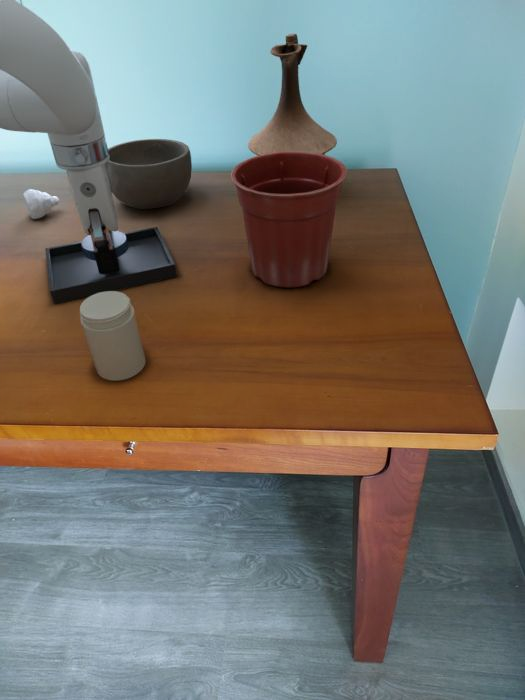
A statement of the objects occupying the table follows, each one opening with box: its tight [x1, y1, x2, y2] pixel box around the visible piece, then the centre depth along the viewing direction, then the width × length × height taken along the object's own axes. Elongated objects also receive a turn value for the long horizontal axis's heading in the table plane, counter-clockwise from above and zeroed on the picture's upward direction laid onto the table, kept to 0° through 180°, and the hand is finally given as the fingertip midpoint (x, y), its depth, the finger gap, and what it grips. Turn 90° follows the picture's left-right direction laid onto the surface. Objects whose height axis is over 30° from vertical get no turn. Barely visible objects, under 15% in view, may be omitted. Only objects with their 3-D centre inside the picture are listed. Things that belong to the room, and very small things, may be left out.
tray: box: [44, 226, 178, 305], centre depth 87 cm, size 19×14×2 cm
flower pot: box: [230, 151, 347, 289], centre depth 80 cm, size 16×16×16 cm
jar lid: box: [81, 230, 128, 261], centre depth 85 cm, size 7×7×2 cm
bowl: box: [104, 138, 193, 210], centre depth 105 cm, size 17×18×10 cm
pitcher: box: [247, 33, 338, 156], centre depth 99 cm, size 18×17×28 cm
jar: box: [79, 290, 147, 382], centre depth 66 cm, size 6×6×10 cm
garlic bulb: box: [22, 188, 60, 220], centre depth 102 cm, size 6×6×5 cm
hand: (108, 259), depth 86 cm, fingers closed on jar lid, 7 cm apart
